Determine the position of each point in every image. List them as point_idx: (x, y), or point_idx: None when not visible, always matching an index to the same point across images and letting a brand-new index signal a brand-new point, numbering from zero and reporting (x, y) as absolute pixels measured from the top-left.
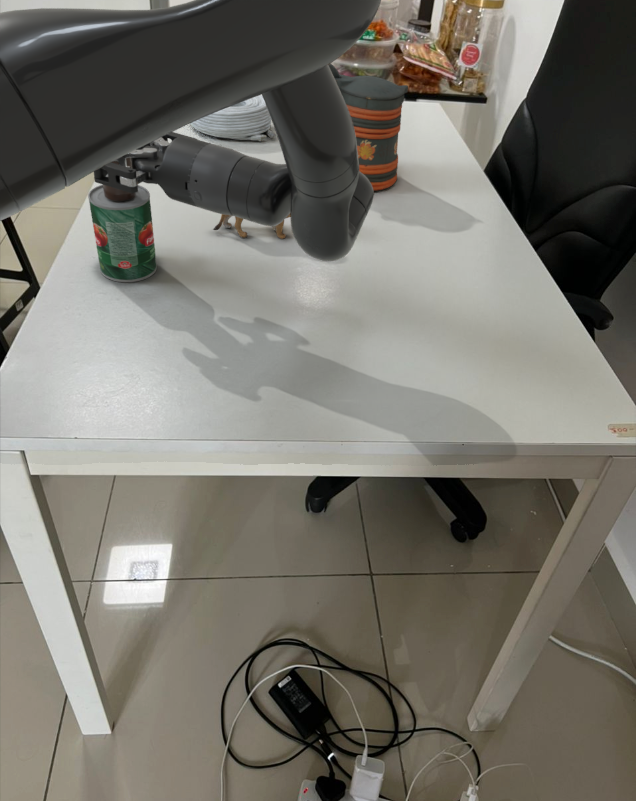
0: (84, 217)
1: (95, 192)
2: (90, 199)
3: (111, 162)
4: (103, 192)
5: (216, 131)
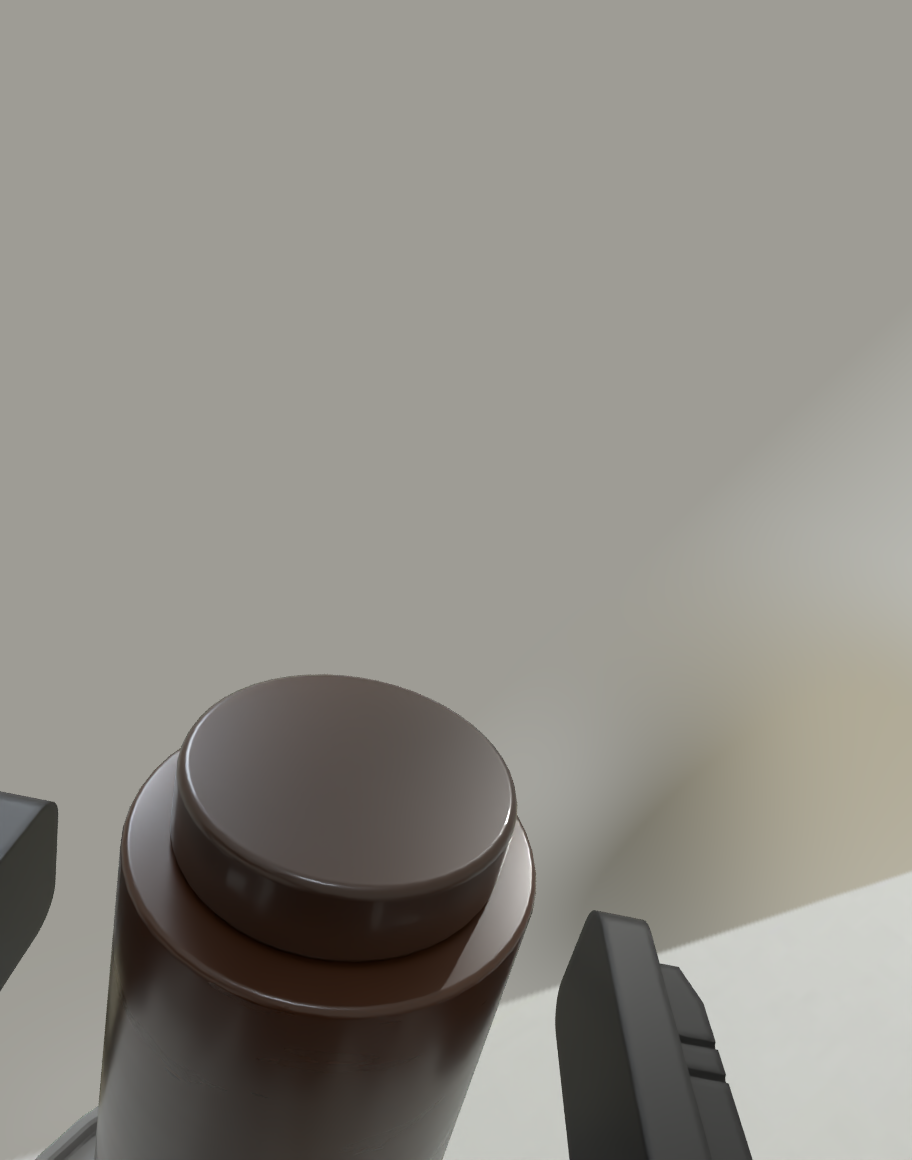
0: (529, 998)
1: None
2: (68, 1133)
3: (95, 1152)
4: None
5: None
